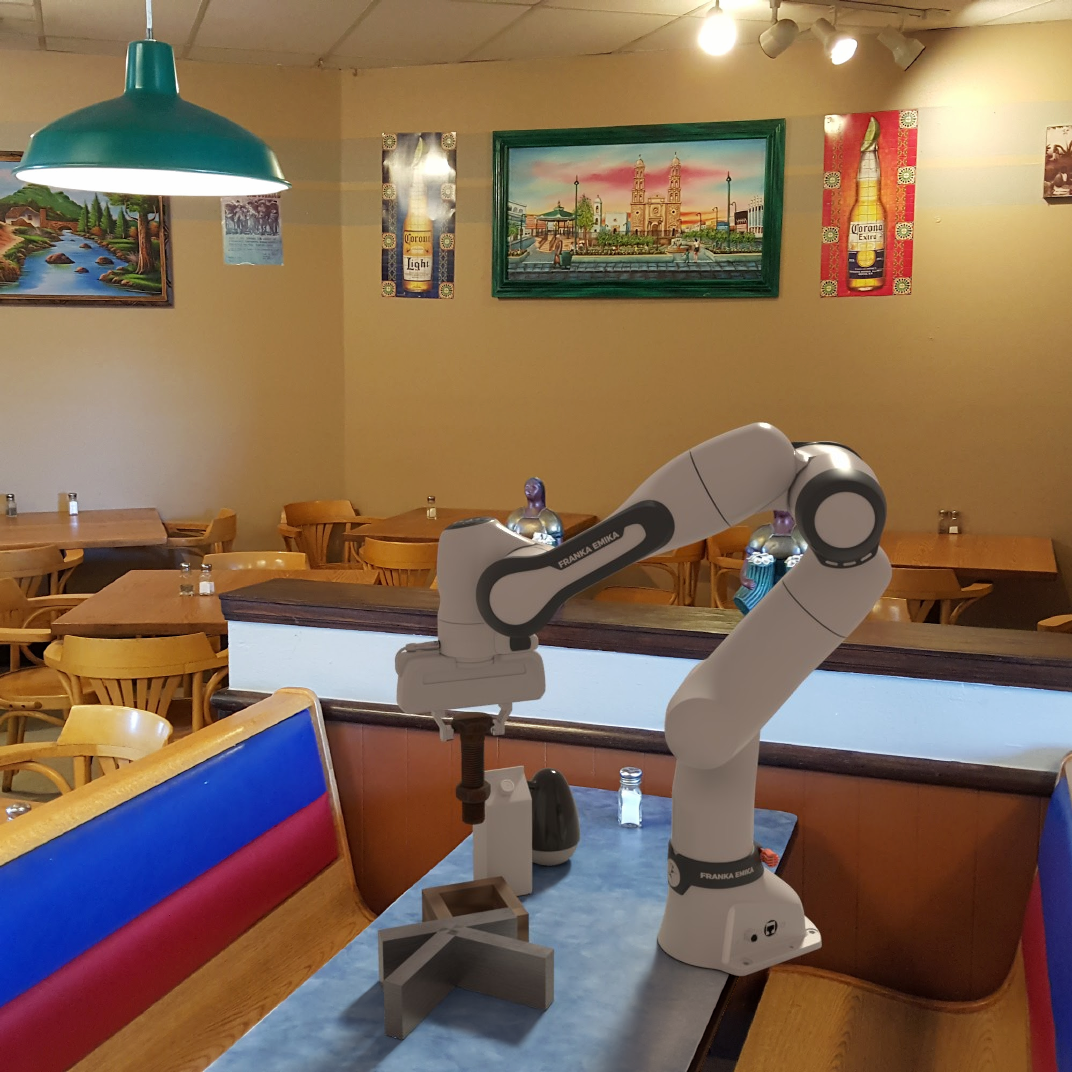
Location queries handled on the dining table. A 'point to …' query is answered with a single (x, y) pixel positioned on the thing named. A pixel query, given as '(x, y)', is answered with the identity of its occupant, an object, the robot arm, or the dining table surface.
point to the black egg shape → (553, 818)
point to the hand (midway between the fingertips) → (472, 736)
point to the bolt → (472, 764)
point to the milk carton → (505, 831)
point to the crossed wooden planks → (459, 965)
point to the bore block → (474, 901)
